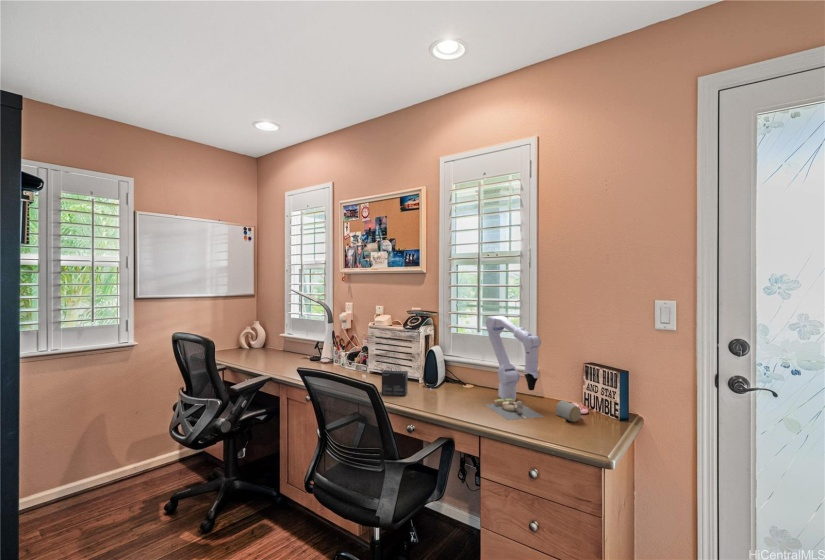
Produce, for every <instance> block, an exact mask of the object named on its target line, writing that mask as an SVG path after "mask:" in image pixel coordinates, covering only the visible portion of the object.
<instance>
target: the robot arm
mask: <svg viewBox="0 0 825 560" xmlns="http://www.w3.org/2000/svg"><path fill="white" fill-rule="evenodd" d="M484 325H485V326H486V330H487V333H488V334H487V335H488V337H489V340H490V343H491V346H492V349H493V352H494V355H495V358H496V360H497V362H498V365H499V367H498V369H497V370H496V373H497V378H498V381H499V384H498V391H497V392H498V397H499V399H514V400H515V401H517V385H518V383H519V381H520V379H521V378H520V377H521V375H520V372H519V371H518V370H517V369H516V366H515V365H513V364H511V362H510V359H509V357H508V355H507V354H508V353H507V351H506V348H505V346H504V343H503V341H502V338H501V333H502V332H503V331H504V329H506V330H507V331H509V332H510V333H512V334H513V337H514V338H515V339H516V340H518V341H520V342H521V343H522V346H523V347H524V352H525V353H524V354H525V355H524V359H525V360H524V361H525V363H524V364H525V365H524V369H522V372H523V373H525V374H524V378H525V379H526V382H527V383H526V384H527V388H528V390H529V391H534V390H535V388H536V383H537V380H538V379H539V378H540V377H539V347H540V346H541V342H542V341H541V338H540V337H539V335H537V334H534V335H533V334H532V333H531V332H528V331H527V330H525V328H524V327H517V326H516V325H515V324H513V323H512V322H511V321H510V320H509V319H508V317H506V316H505V315H495V316H494V315H493V316H492V315H489V316H488V317H486V320H485V324H484Z"/></svg>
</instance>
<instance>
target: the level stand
mask: <svg viewBox="0 0 825 560" xmlns="http://www.w3.org/2000/svg"><path fill="white" fill-rule="evenodd" d="M507 401H510V402H516V400H514V399H501V398H499V399H494V400H493V403H487V404H485V405H484V406H487V407H488V408H489V409H491V410H492V411H494V413H496V414H498V415H499V416H501V417H503V419H505V420H506V421H510V420H511V421H514V420H522V419H525V420H526V419H534V418H544V417H545V416H544V415H542V414H541V413H538V412H537V411H535V410H533V409H532V408H530V407H528V406H526V405H524V404H523V414H517V411H508V410H504V409H503V408H502V403H503V402H507Z"/></svg>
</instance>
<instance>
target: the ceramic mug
mask: <svg viewBox="0 0 825 560" xmlns="http://www.w3.org/2000/svg"><path fill="white" fill-rule="evenodd" d="M581 413H582V412H581V409H580V408H579V406H577V405H575V404H573V403H570V402H568V401H566V400H560V401H558V403H557V404H556V407H555V414H556V416H557V417H561V418H564V419H565V420H566V421H568V422H571V423H576V422H578V421H579V420H580V419H582V418H583V417H582V416H583V415H581Z"/></svg>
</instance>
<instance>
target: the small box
mask: <svg viewBox="0 0 825 560" xmlns="http://www.w3.org/2000/svg"><path fill="white" fill-rule="evenodd" d="M408 373H409V372H408V371H407V370H390V369H389V370H388V369H387V370H385V369H384V370H383V371H381V396H388V397H389V396H391V397H394V396H395V397H406V396H407V394H408V377H409V376H408V375H409V374H408Z"/></svg>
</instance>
